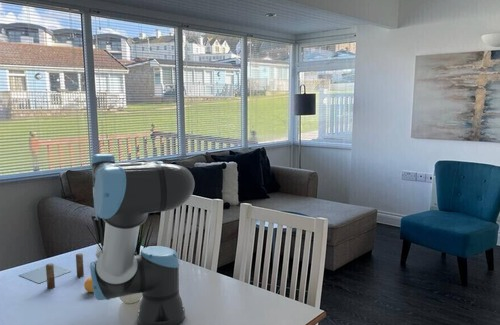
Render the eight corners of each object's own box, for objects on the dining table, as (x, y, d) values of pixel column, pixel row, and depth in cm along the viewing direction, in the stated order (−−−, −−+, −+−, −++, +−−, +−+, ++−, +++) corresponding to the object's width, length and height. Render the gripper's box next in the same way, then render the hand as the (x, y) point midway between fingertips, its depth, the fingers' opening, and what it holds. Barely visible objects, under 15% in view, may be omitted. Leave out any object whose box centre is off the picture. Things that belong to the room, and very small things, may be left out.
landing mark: (71, 271, 169) (71, 271, 169) (38, 283, 157) (38, 283, 157) (51, 264, 177) (51, 263, 177) (18, 275, 165) (18, 275, 165)
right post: (85, 275, 165) (84, 254, 164) (79, 277, 163) (78, 256, 162) (81, 274, 167) (80, 252, 165) (75, 276, 165) (74, 254, 163)
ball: (103, 290, 152) (102, 276, 151) (90, 296, 148) (90, 281, 147) (94, 286, 155) (93, 273, 154) (81, 292, 150) (80, 278, 150)
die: (110, 267, 175) (120, 246, 179) (91, 259, 173) (102, 238, 177) (108, 267, 183) (118, 247, 186) (90, 259, 180) (101, 239, 184)
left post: (56, 286, 155) (54, 264, 154) (49, 289, 153) (48, 266, 151) (52, 285, 156) (50, 262, 155) (45, 287, 154) (44, 265, 153)
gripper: (126, 198, 141) (128, 263, 144) (101, 193, 148) (104, 256, 151) (108, 203, 135) (111, 270, 138) (83, 197, 141) (87, 262, 145)
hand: (107, 263), depth 145 cm, fingers closed
